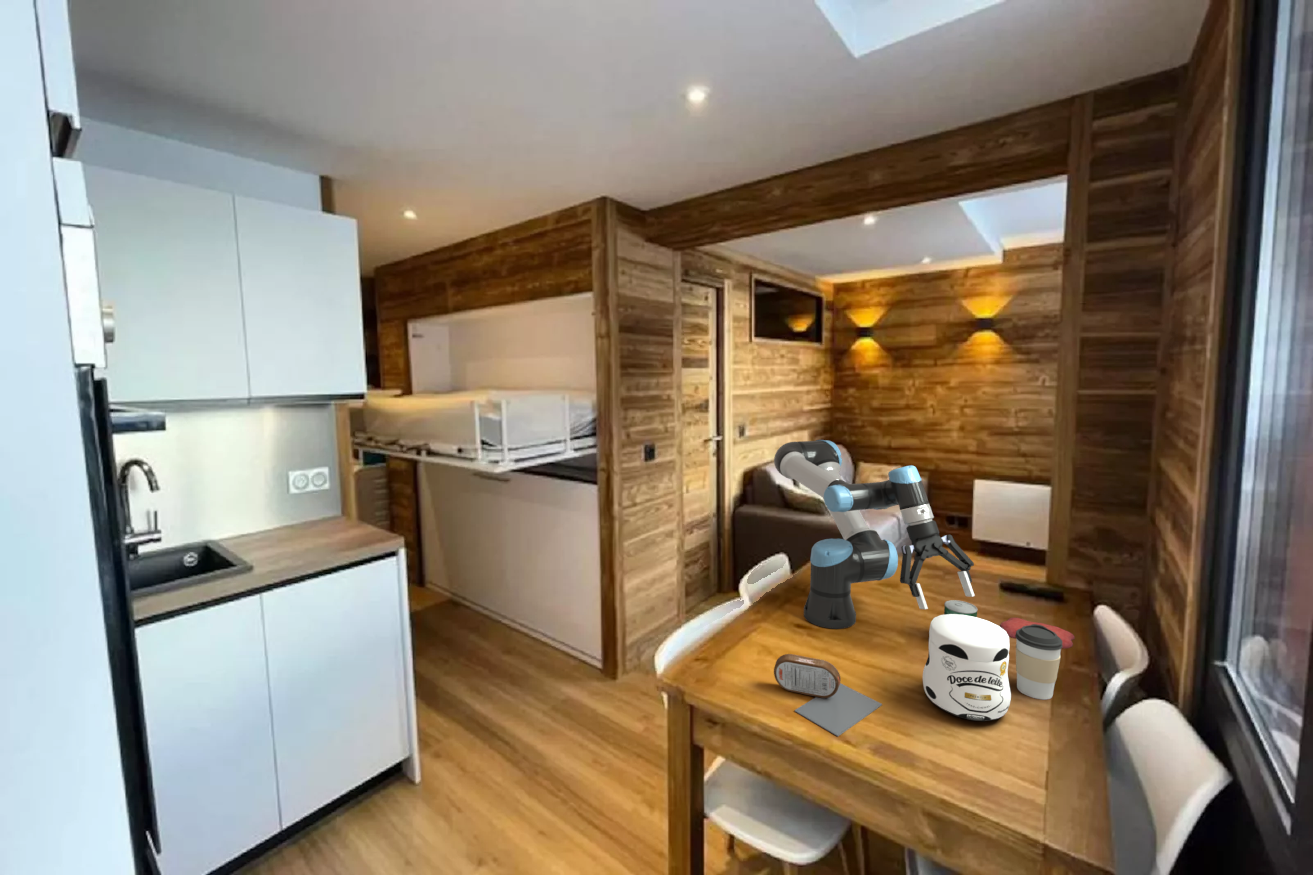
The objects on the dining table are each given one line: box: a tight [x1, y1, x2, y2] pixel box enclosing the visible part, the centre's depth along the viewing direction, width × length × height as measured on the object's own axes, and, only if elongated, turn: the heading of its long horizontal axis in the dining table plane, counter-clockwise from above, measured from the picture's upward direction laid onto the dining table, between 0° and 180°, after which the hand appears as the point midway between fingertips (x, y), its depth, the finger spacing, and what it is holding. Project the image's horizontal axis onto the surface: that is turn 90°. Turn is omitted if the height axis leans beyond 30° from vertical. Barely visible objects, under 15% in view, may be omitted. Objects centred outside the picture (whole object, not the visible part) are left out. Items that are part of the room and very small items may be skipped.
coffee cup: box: [1015, 624, 1063, 700], centre depth 130 cm, size 9×9×15 cm
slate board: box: [794, 682, 883, 737], centre depth 125 cm, size 11×17×1 cm, turn 128°
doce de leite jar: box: [922, 614, 1012, 722], centre depth 125 cm, size 17×17×18 cm
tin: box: [773, 653, 842, 698], centre depth 130 cm, size 15×3×8 cm, turn 65°
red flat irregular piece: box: [999, 617, 1075, 649], centre depth 158 cm, size 18×14×2 cm
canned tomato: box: [943, 599, 978, 618], centre depth 152 cm, size 8×8×11 cm
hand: (947, 602), depth 146 cm, fingers open, 13 cm apart
